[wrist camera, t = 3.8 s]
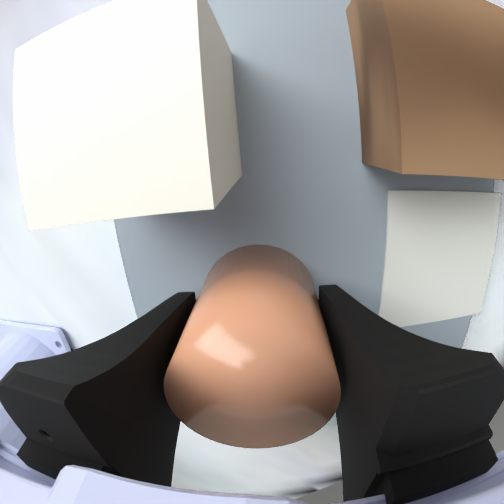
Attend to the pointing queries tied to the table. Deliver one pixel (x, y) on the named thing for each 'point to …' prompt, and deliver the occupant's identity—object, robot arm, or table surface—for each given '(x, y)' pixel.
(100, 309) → the table surface
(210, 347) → the terracotta round block
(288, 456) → the table surface
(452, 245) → the building board
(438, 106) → the walnut base block
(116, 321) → the table surface
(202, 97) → the cream block
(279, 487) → the table surface
